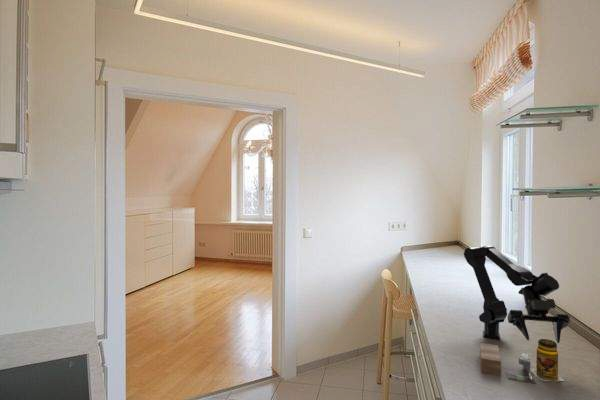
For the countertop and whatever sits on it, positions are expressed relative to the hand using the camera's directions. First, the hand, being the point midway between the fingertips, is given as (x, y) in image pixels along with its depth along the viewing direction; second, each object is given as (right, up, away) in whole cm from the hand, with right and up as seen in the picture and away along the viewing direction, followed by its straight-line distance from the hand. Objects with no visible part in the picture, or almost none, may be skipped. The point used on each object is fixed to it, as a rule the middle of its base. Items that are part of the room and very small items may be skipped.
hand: (543, 341), depth 130 cm
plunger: (-8, -10, -2) cm, 13 cm away
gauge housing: (-12, -10, +2) cm, 16 cm away
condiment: (-1, -11, -3) cm, 11 cm away
